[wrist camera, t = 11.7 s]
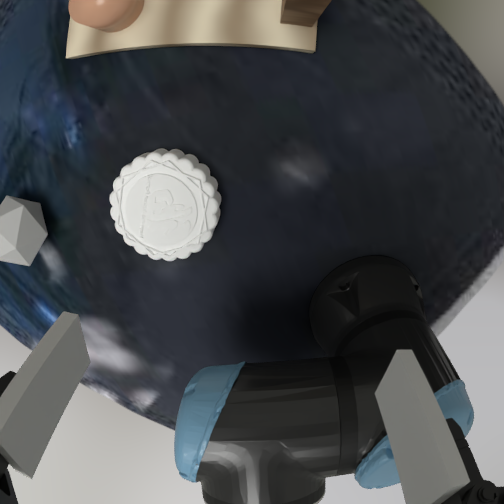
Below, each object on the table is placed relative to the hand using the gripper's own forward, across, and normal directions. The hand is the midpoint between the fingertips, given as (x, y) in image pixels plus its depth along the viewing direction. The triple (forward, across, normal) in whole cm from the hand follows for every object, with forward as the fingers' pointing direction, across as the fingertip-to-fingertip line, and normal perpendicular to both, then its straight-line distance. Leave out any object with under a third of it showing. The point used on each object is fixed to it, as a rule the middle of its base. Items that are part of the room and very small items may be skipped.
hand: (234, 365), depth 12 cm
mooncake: (+24, +9, +1) cm, 26 cm away
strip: (+23, +9, -21) cm, 32 cm away
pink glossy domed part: (+22, +16, -20) cm, 34 cm away
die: (+24, +29, +5) cm, 38 cm away
